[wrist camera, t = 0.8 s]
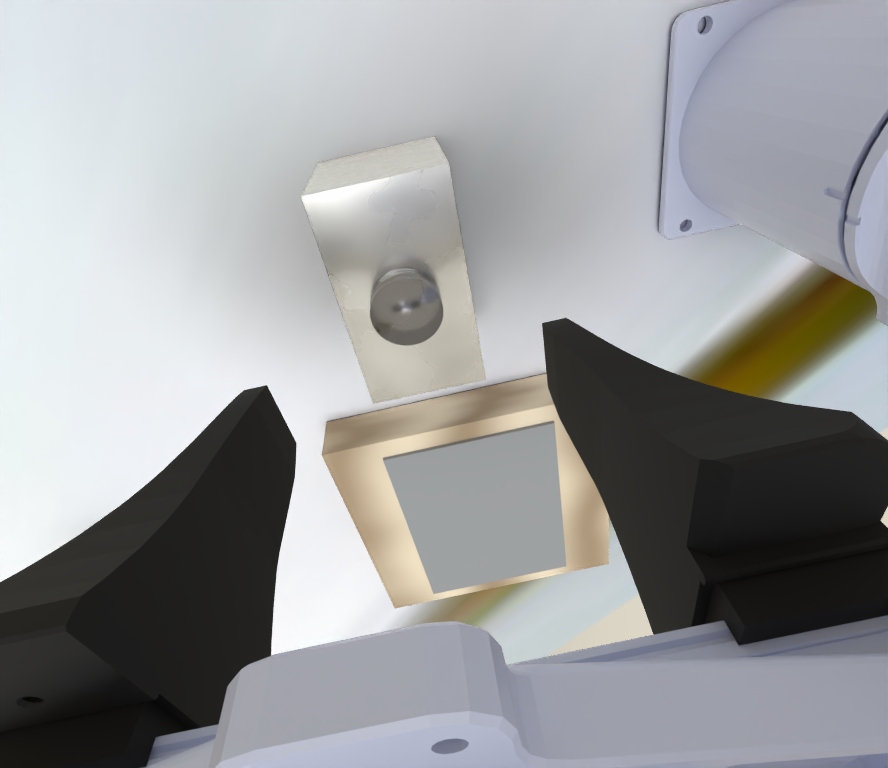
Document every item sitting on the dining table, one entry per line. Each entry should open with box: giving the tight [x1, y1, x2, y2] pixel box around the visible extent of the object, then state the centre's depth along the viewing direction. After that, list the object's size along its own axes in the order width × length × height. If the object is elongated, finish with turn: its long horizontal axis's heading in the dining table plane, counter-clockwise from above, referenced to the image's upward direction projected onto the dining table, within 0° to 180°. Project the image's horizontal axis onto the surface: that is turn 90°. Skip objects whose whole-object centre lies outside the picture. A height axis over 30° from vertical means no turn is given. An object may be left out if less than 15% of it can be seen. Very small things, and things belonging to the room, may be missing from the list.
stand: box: [322, 373, 609, 608], centre depth 28 cm, size 14×14×3 cm
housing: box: [301, 136, 486, 404], centre depth 19 cm, size 4×8×6 cm, turn 11°
